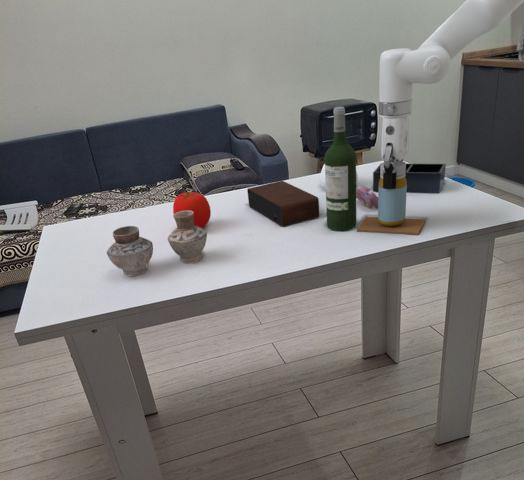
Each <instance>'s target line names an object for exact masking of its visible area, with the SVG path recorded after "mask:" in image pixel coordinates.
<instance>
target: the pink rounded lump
mask: <svg viewBox="0 0 524 480" xmlns="http://www.w3.org/2000/svg"><path fill="white" fill-rule="evenodd" d="M356 200H358V201H359V202H360V203H361V205H362V206H366V207H367V208H368V209H371V208H372V207H374V208H376V209H378V195H376V194H375V192H373V190H371V189H370V188H369V187H367V186H360V185H359V186H358V187H356Z"/></svg>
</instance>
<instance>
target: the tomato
mask: <svg viewBox="0 0 524 480" xmlns="http://www.w3.org/2000/svg"><path fill="white" fill-rule="evenodd" d="M185 210H189V211H193V212H194V216H193V220H194V225H195V226H198V227H200V228H202V229H204V228H205V227H206V226H207V225H208V223H209V222H210V219H211V217H212V216H211V215H212V214H211V213H212V211H211V206H210V203H209V200H208V199H207V197H205V195H204V194H202V193H199V192H198V191H197V192H196V191H195V192H194V191H187V192H183V193H180V194H178V195H176V197H175V199H174V201H173V205H172V212H173V213H172V214H173V215H174V214H175V213H177V212H180V211H185Z"/></svg>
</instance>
